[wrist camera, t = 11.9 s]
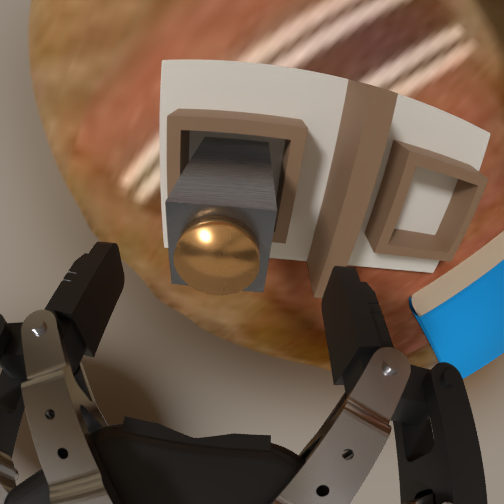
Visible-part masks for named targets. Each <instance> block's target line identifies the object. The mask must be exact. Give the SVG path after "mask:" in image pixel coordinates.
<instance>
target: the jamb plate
mask: <svg viewBox="0 0 504 504" xmlns="http://www.w3.org/2000/svg"><path fill="white" fill-rule="evenodd" d="M204 137H217V138H231V139H243V140H253V141H263V142H269V149H270V157H271V164H272V172H273V180H274V188H275V197H276V205H277V215H276V221H275V227H274V233H273V239H272V245H271V251H270V257H269V258H277V259H288V260H298V261H307V266H308V271H309V276H310V281H311V286H312V291H313V297H314V298H323V294H324V292H325V289H326V286H327V283H328V281H329V278H330V275H331V272H332V269H333V267H334V266H345V267H347V265H352V266H363V267H374V268H385V269H396V270H407V271H418V272H429V273H433V272H434V270H435V268H436V266H437V265H438V263H439V261H448V262H451V260H452V259H453V257H454V255H455V253H456V251H457V249H458V247H459V245H460V243H461V241H462V239H463V237H464V235H465V233H466V231H467V229H468V227H469V224H470V222H471V220H472V218H473V216H474V213H475V211H476V209H477V206H478V204H479V202H480V199H481V197H482V194H483V192H484V189H485V187H486V184H487V181H488V178H487V177H486V176H484V175H483V174H482V173H480V172H479V169H480V166H481V163H482V160H483V157H484V154H485V151H486V148H487V144H488V141H489V138H490V133H488V132H487V131H485V130H483V129H481V128H479V127H477V126H475V125H473V124H471V123H469V122H467V121H465V120H463V119H460V118H458V117H456V116H454V115H452V114H449V113H447V112H445V111H442V110H440V109H438V108H435V107H433V106H430V105H428V104H425V103H422V102H420V101H417V100H414V99H412V98H409V97H406V96H403V95H400V94H398V93H395V92H392V91H389V90H385V89H382V88H379V87H375V86H372V85H368V84H365V83H361V82H357V81H353V80H349V79H345V78H341V77H337V76H332V75H328V74H323V73H318V72H313V71H307V70H302V69H296V68H290V67H283V66H276V65H268V64H259V63H249V62H237V61H221V60H162V70H161V91H160V184H161V206H162V223H163V237H164V248H168V237H167V223H166V206H165V201H166V199H167V198H168V196H169V194H170V192H171V191H172V189H173V187H174V186H175V184H176V182H177V180H178V179H179V177H180V175H181V174H182V172H183V171H184V169H185V167H186V166H187V164H188V162H189V161H190V159H191V158H192V156H193V154H194V153H195V151H196V150H197V148H198V147H199V145H200V143H201V142H202V140H203V139H204Z"/></svg>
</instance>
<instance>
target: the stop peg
mask: <svg viewBox="0 0 504 504" xmlns="http://www.w3.org/2000/svg"><path fill="white" fill-rule="evenodd" d="M165 206H166V223H167V237H168V250H169V261H170V271H171V281H172V284H180V285H189V286H191V287H192V288H194V289H196V290H198V291H201V292H204V293H207V294H212V295H228V294H233V293H237V292H239V291H241V290H242V291H253V292H263V291H264V285H265V279H266V274H267V268H268V262H269V257H270V251H271V245H272V239H273V233H274V227H275V221H276V215H277V205H276V197H275V188H274V180H273V172H272V164H271V157H270V149H269V142H263V141H253V140H243V139H231V138H217V137H204V139H203V140H202V142H201V143H200V145H199V147H198V148H197V150H196V151H195V153H194V154H193V156H192V158H191V159H190V161H189V162H188V164H187V166H186V167H185V169H184V171H183V172H182V174H181V175H180V177H179V179H178V180H177V182H176V184H175V186H174V187H173V189H172V191H171V192H170V194H169V196H168V198H167V199H166V201H165Z"/></svg>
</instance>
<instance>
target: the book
mask: <svg viewBox="0 0 504 504" xmlns="http://www.w3.org/2000/svg"><path fill="white" fill-rule="evenodd" d="M409 305H410V308H411V310H412V312H413V314H414V315H415V317H416V319H417V321H418V322H419V324H420V326H421V328H422V330H423V332H424V333H425V335H426V337H427V339H428V341H429V343H430V345H431V347H432V349H433V350H434V352H435V354H436V356H437V358H438V360H439V362H447V363H450V364H452V365H453V366H454V367H456V368H457V369H458V371H459V372H460V374H461V376H462V379H464V378H465V377H467V376H469V375H470V374H472V373H473V372H475V371H477V370H478V369H480V368H482V367H483V366H485V365H486V364H488V363H489V362H491V361H492V360H494V359H495V358H497V357H498V356H500V355H501V354H503V353H504V231H503V232H502V233H500V234H499V235H498V236H497V237H495V238H494V239H493V240H491V241H490V242H489V243H488V244H486V245H485V246H484V247H482V248H481V249H480V250H478V251H477V252H475V253H474V254H473V255H471V256H470V257H469V258H467V259H466V260H464V261H463V262H462V263H460V264H459V265H457V266H456V267H454V268H453V269H451V270H450V271H449V272H447V273H446V274H444V275H443V276H441V277H440V278H438V279H437V280H435V281H433V282H432V283H430V284H429V285H427V286H426V287H424V288H422V289H421V290H419V291H418V292H416V293H414V294H413V295H412V300H411V298H410V297H409Z"/></svg>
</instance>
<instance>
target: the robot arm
mask: <svg viewBox="0 0 504 504" xmlns="http://www.w3.org/2000/svg"><path fill="white" fill-rule="evenodd" d="M123 286H124V272H123V267H122V262H121V258H120V253H119V248H118V245H117V244H116V243H108V242H97V243H96V244H95V245H94V246H93V248H92V249H91V251H90V253H89V254H86V253H85V254H84V255H82V256H81V257H80V258H78V259H77V260H76V261H75V262H74V263H73V265H72V266H71V268H70V269H69V272H68V273H67V274H66V275H65V277H64V280H63V281H62V282H61V283H60V285H59V286H58V288H57V290H56V291H55V293H54V294H53V296H52V298H51V299H50V301H49V303H48V304H47V306H46V308H45V309H44V310H37V311H35V312H33V313H31V314H30V315H28V317H26V319H25V320H24V322H21V323H7V322H6V321H5V319H4V318H3V316H2V315H1V314H0V367H1V368H2V372H1V374H0V504H350V502H351V501H352V499H353V497H354V496H355V495H356V493H357V492H358V490H359V488H360V487H361V485H362V484H363V482H364V480H365V479H366V477H367V476H368V474H369V472H370V470H371V469H372V467H373V465H374V463H375V462H376V460H377V458H378V456H379V454H380V453H381V451H382V449H383V447H384V445H385V443H386V441H387V439H388V437H389V435H390V432H391V426H390V425H389V421H390V420H391V421H393V424H394V432H395V439H396V448H397V457H398V467H399V480H400V496H401V504H487V493H486V484H485V476H484V469H483V463H482V457H481V451H480V446H479V441H478V436H477V431H476V427H475V423H474V418H473V414H472V411H471V407H470V403H469V399H468V396H467V392H466V389H465V386H464V382H463V379H462V376H461V374H460V372H459V371H458V369H457V368H456V367H454V366H453V365H452V364H450V363H447V362H440V363H438V364H436V365H435V366H434V367H433V368H432V369H431V370H429V369H425V368H421V367H417V366H413V365H410V363H409V361H408V359H407V357H406V356H405V355H404V354H403V353H402V352H400V351H399V350H397V349H395V348H394V347H393V344H392V341H391V338H390V335H389V331H388V328H387V326H386V323H385V320H384V317H383V315H382V311H381V308H380V305H378V304H379V303H378V300H377V297H376V294H375V292H374V291H373V290H372V288H371V287H370V286H369V285H368V284H367V283H366V282H360V279H359V276H358V273H357V271H356V269H355V268H354V267H345V266H334V267H333V269H332V272H331V275H330V278H329V281H328V283H327V286H326V289H325V292H324V294H323V298H322V315H323V320H324V326H325V332H326V338H327V344H328V350H329V356H330V362H331V369H332V376H333V382H334V385H344V386H345V393H344V394H343V396H342V397H341V399H340V400H339V402H338V403H337V405H336V406H335V408H334V409H333V411H332V412H331V413H330V415H329V416H328V418H327V419H326V421H325V422H324V424H323V425H322V426H321V428H320V429H319V431H318V432H317V433H316V434H315V436H314V437H313V438H312V439H311V440H310V442H309V443H308V444H307V445H306V447H305V448H304V449H303V450H302V452H301V453H300V454H299V455H297V454H295V453H294V452H292V451H290V450H288V449H286V448H284V447H282V446H279V445H277V444H273V443H271V435H248V434H227V435H220V436H212V437H204V438H192V437H189V436H187V435H184V434H182V433H179V432H177V431H174V430H172V429H170V428H167V427H165V426H163V425H161V424H158V423H153V422H148V421H143V420H139V419H134V418H130V417H125V418H124V422H123V424H117V425H110V426H108V425H107V423H106V421H105V419H104V417H103V416H102V414H101V412H100V411H99V409H98V407H97V405H96V402H95V400H94V397H93V394H92V392H91V389H90V386H89V383H88V381H87V378H86V375H85V372H84V369H83V366H82V363H81V359H82V357H83V355H87V356H90V357H94V356H95V353H96V351H97V348H98V345H99V343H100V340H101V338H102V336H103V333H104V331H105V328H106V326H107V324H108V321H109V319H110V316H111V314H112V312H113V310H114V308H115V305H116V303H117V301H118V299H119V296H120V294H121V292H122V289H123ZM24 408H25V410H26V414H27V419H28V423H29V427H30V430H31V434H32V438H33V441H34V444H35V448H36V451H37V454H38V457H39V460H40V463H41V466H42V469H41V470H39V471H38V472H37V473H35V474H34V475H32V476H31V477H29V478H28V479H26V480H25V481H23V482H22V483H20V484H19V485H18V486H16V482H15V481H16V480H18V478H19V473H18V471H17V469H16V468H15V467H14V463H13V461H12V454H13V450H14V446H15V441H16V437H17V433H18V430H19V426H20V422H21V419H22V415H23V412H24ZM430 419H431V421H430ZM431 424H432V426H431ZM432 430H433V432H432ZM433 435H434V437H433Z"/></svg>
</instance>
